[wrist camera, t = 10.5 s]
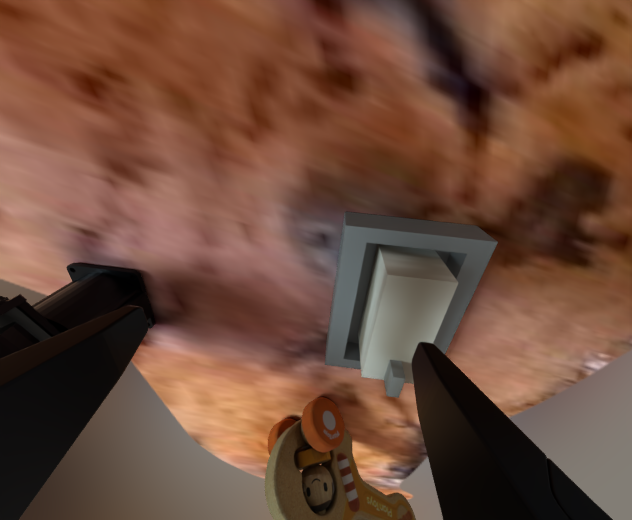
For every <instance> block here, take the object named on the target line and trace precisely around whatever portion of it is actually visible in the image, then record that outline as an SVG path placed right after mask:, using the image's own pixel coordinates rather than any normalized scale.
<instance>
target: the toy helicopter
mask: <svg viewBox="0 0 632 520" xmlns="http://www.w3.org/2000/svg"><path fill="white" fill-rule="evenodd" d="M268 451H269V455H270V457H269V460H268V464H267V469H266V476H265V495H266V500H267V504H268V508H269V511H270V513H271V515H272V517H273V519H274V520H416V519H415V515H414V513H413V510H412V508H411V506H410V504H409V503H408V501H407V499H406V498H405V497H404V496H403V495H402V494H400V493H392V494H389V495H385V494H383V493H382V492H380V491H378V490H377V489H375V488H374V487H372V486H370V485H369V484H367V483H366V482H364V481H363V480H362V478H361V477H360V475H359V473H358V470H357V466H356V464H355V461H354V458H353V454H352V439H351V436H350V434H349V433H348V431H346V430H345V427H344V421H343V418H342V416H341V413H340V412H339V410H338V408H337V406H336V405H335V404H334V403H333V402H332V401H331V400H329V399H327V398H324V397H320V398H317V399H315V400H313V401H312V402H310V403H309V404H308V405H307V406H306V407H305V409H304V411H303V415H302V419H300V420H299V421H295V420H293V419H284V420H282V421H280V422H278V423H277V424H276V425H275V426H274V427H273V428H272V429H271V431H270V434H269V437H268ZM321 463H322V464H321ZM320 464H321V465H320ZM299 470H303V471H302V473H301V472H300V471H299Z"/></svg>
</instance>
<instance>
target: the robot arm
mask: <svg viewBox="0 0 632 520" xmlns="http://www.w3.org/2000/svg"><path fill="white" fill-rule="evenodd" d="M67 270H68V272H69V275H70V277H71V279H72V282H71V283H69V284H67V285H66V286H64V287H62V288H61V289H59V290H57V291H56V292H54V293H52V294H51V295H49V296H47V297H46V298H44V299H42V300H41V301H39V302H37V303H36V304H34V305H32V306H31V305H30V304H29V303H27V302H26V300H27V299H25V298H24V297H23V296H22V295H21V294H19V295H18V296H15V297H13V298H11V299H8V298H7V297H6V298H5V297H2V296H0V520H19V519H20V517H21V516H22V514H23V513H24V511H25V510H26V509H27V507H28V506H29V504H30V503H31V502H32V500H33V499H34V497H35V496H36V495H37V493H38V492H39V491H40V489H41V488H42V486H43V485H44V484H45V482H46V481H47V479H48V478H49V477H50V475H51V474H52V472H53V471H54V470H55V468H56V467H57V465H58V464H59V463H60V461H61V460H62V458H63V457H64V456H65V454H66V453H67V451H68V450H69V448H70V447H71V446H72V444H73V443H74V442H75V440H76V438H77V437H78V436H79V434H80V433H81V432H82V430H83V429H84V428H85V426H86V425H87V423H88V422H89V421H90V419H91V418H92V416H93V415H94V414H95V412H96V411H97V410H98V408H99V407H100V405H101V404H102V402H103V401H104V400H105V398H106V397H107V396H108V394H109V393H110V391H111V390H112V389H113V387H114V386H115V384H116V383H117V381H118V380H119V379H120V377H121V376H122V374H123V372H124V371H125V369H126V367H127V366H128V364H129V362H130V361H131V359H132V357H133V356H134V354H135V352H136V350H137V349H138V347H139V345H140V344H141V342H142V340H143V338H144V337H145V335H146V333H147V331H148V328H152V327H153V326H154V325H155V320H154V316H153V313H152V310H151V306H150V303H149V299H148V296H147V293H146V289H145V286H144V282H143V279H142V276H141V274H140V273H139V272H138V271H136V270H129V269H121V268H112V267H104V266H95V265H87V264H79V263H72V264H70V265H68V266H67ZM411 365H412V374H413V381H414V388H415V396H416V403H417V410H418V416H419V421H420V425H421V430H422V434H423V438H424V442H425V446H426V450H427V454H428V458H429V462H430V467H431V470H432V475H433V479H434V483H435V487H436V491H437V495H438V499H439V503H440V507H441V512H442V516H443V520H613V519H612V518H610V516H609V515H607V514H606V513H605V512H604V511H603V510H602V509H601V508H600V507H599V506H598V505H597V504H595V503H594V502H593V501H592V500H591V499H590V498H589V497H588V496H587V495H586V494H585V493H584V492H583V491H582V490H581V489H580V488H579V487H578V486H577V485H576V484H575V483H574V482H573V481H572V480H571V479H570V478H568V476H567V475H565V473H564V472H563V471H562V470H561V469H560V468H558V466H556V464H555V463H554V462H552V461H551V460H550V459H549V458H547V457H546V455H545V454H544V453H543V452H542V451H541V450H540V449H539V448H538V447H537V446H536V445H535V444H534V443H533V442H532V441H531V440H530V439H529V438H528V437H527V436H526V435H525V434H524V433H523V432H522V431H521V430H520V429H519V428H518V427H517V426H516V425H515V424H514V423H513V422H512V421H511V420H510V419H509V418H508V417H507V416H506V415H505V414H504V413H503V412H502V411H501V410H500V409H499V408H498V407H497V406H496V405H495V404H494V403H493V402H492V401H491V400H490V399H489V398H488V397H487V396H486V395H485V394H484V393H483V392H482V391H481V390H480V389H479V388H478V387H477V386H476V385H475V384H474V383H473V382H472V381H471V380H470V379H469V378H468V377H467V376H466V375H465V374H464V373H463V372H462V371H461V370H460V369H459V368H458V367H457V366H456V365H455V364H454V363H453V362H452V361H451V360H450V359H449V358H448V357H447V356H446V355H445V354H444V353H443V352H442V351H441V350H440V349H439V348H438V347H437V346H436V345H434V344H433V343H428V342H419V343H418V345H417V348H416V350H415V353H414V355H413V358H412V363H411Z"/></svg>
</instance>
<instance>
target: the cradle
mask: <svg viewBox="0 0 632 520" xmlns="http://www.w3.org/2000/svg"><path fill="white" fill-rule="evenodd" d="M497 243H498V242H497V241H496V240H494V239H493V238H492V237H491V236H489V235H488V234H487V233H485V232H484V231H483V230H482V229H480V228H479V227H478V226H474V225H465V224H455V223H446V222H437V221H428V220H418V219H409V218H400V217H391V216H381V215H372V214H363V213H354V212H345V215H344V222H343V229H342V236H341V243H340V250H339V257H338V264H337V271H336V278H335V285H334V292H333V299H332V306H331V312H330V319H329V326H328V333H327V340H326V355H325V365H331V366H339V367H347V368H354V369H361V363H360V351H359V339H358V331H359V326H360V322H361V317H362V312H363V308H364V303H365V299H366V294H367V289H368V285H369V280H370V276H371V271H372V266H373V262H374V257H375V253H376V248H377V244H385V245H394V246H403V247H411V248H420V249H429V250H435V251H436V252H437V254H438V255H439V257H440V258H441V259H442V261H443V262H444V263H445V265H446V266H447V268H448V269H449V270H450V272H451V273H452V274H453V276H454V277H455V279H456V280H457V281H458V285H457V288H456V290H455V292H454V295H453V297H452V300H451V302H450V304H449V307H448V309H447V311H446V314H445V316H444V319H443V321H442V323H441V326H440V328H439V330H438V333H437V335H436V337H435V340H434V342H433V344H434V345H436V346H437V347H438V348H439V349H440V350H441V351H442V352H443V353H444V354H445V353H446V351H447V349H448V347H449V345H450V342H451V340H452V338H453V336H454V334H455V332H456V330H457V328H458V325H459V323H460V321H461V319H462V317H463V315H464V313H465V311H466V309H467V306H468V304H469V302H470V300H471V298H472V296H473V294H474V292H475V290H476V287H477V285H478V283H479V281H480V279H481V277H482V275H483V273H484V271H485V268H486V266H487V264H488V262H489V260H490V258H491V256H492V254H493V251H494V249H495V247H496V245H497Z"/></svg>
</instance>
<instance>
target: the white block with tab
mask: <svg viewBox="0 0 632 520" xmlns="http://www.w3.org/2000/svg"><path fill="white" fill-rule="evenodd" d="M457 285H458V281H457V280H456V279H455V277H454V276H453V274H452V273H451V272H450V270H449V269H448V268H447V266H446V265H445V263H444V262H443V261H442V259H441V258H440V257H439V255H438V254H437V252H436V251H435V250H429V249H420V248H411V247H403V246H394V245H385V244H377V248H376V253H375V257H374V262H373V266H372V271H371V276H370V280H369V285H368V289H367V294H366V299H365V303H364V308H363V312H362V317H361V322H360V326H359V331H358V339H359V351H360V363H361V376H362V377H365V378H373V379H381V380H384V383H385V389H386V395H387V396H390V397H399V395H400V392H401V390H402V387H403V384H404V383H412V384H414V381H413V374H412V365H411V363H412V358H413V355H414V353H415V350H416V348H417V345H418V343H419V342H428V343H433V342H434V340H435V337H436V335H437V333H438V330H439V328H440V326H441V323H442V321H443V319H444V316H445V314H446V311H447V309H448V307H449V304H450V302H451V300H452V297H453V295H454V292H455V290H456V288H457Z"/></svg>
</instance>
